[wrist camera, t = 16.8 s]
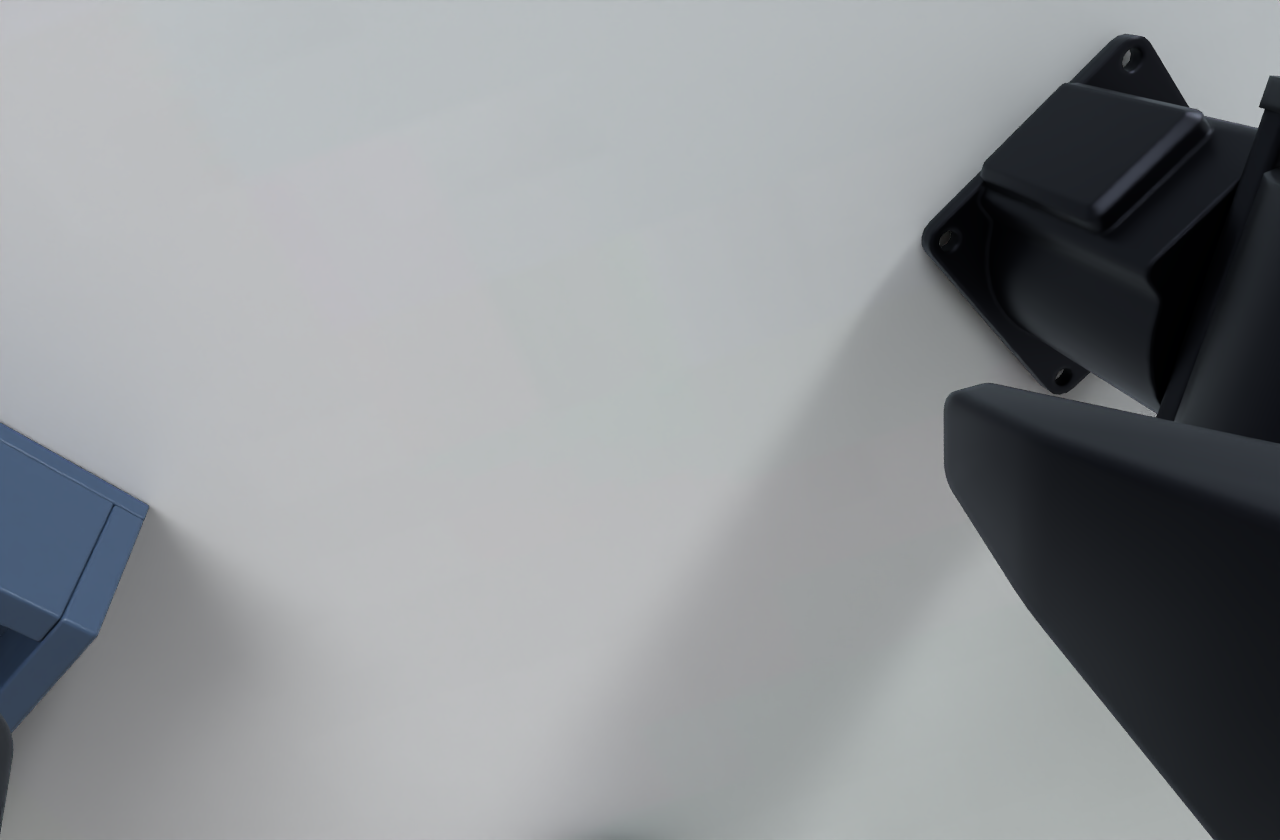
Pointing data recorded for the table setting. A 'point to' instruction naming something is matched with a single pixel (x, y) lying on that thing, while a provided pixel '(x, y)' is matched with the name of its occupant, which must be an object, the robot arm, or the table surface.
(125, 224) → the table surface
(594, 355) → the table surface
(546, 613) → the table surface
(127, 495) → the bin
